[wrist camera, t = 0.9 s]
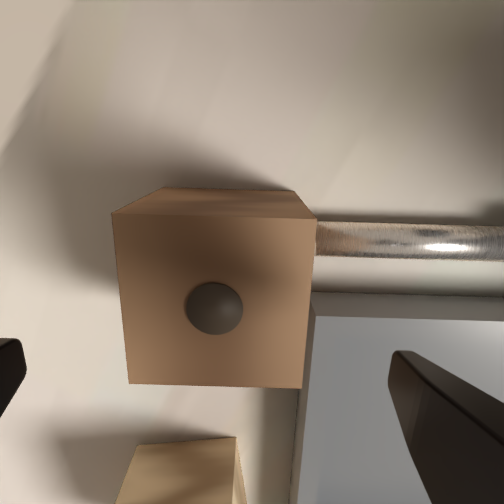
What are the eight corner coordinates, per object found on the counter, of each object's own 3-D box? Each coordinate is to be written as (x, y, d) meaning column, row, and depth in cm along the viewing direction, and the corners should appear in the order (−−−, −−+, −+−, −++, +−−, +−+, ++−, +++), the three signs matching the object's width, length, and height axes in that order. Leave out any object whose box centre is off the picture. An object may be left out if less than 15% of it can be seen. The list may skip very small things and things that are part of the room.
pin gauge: (560, 216, 16) (612, 229, 13) (545, 264, 16) (592, 284, 14) (314, 209, 16) (324, 220, 13) (310, 257, 16) (319, 276, 14)
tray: (622, 300, 17) (683, 326, 15) (532, 522, 22) (565, 568, 20) (307, 291, 17) (315, 316, 15) (287, 515, 22) (291, 560, 20)
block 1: (294, 190, 15) (317, 220, 10) (286, 307, 17) (302, 390, 12) (163, 187, 15) (109, 213, 10) (170, 304, 17) (127, 386, 12)
